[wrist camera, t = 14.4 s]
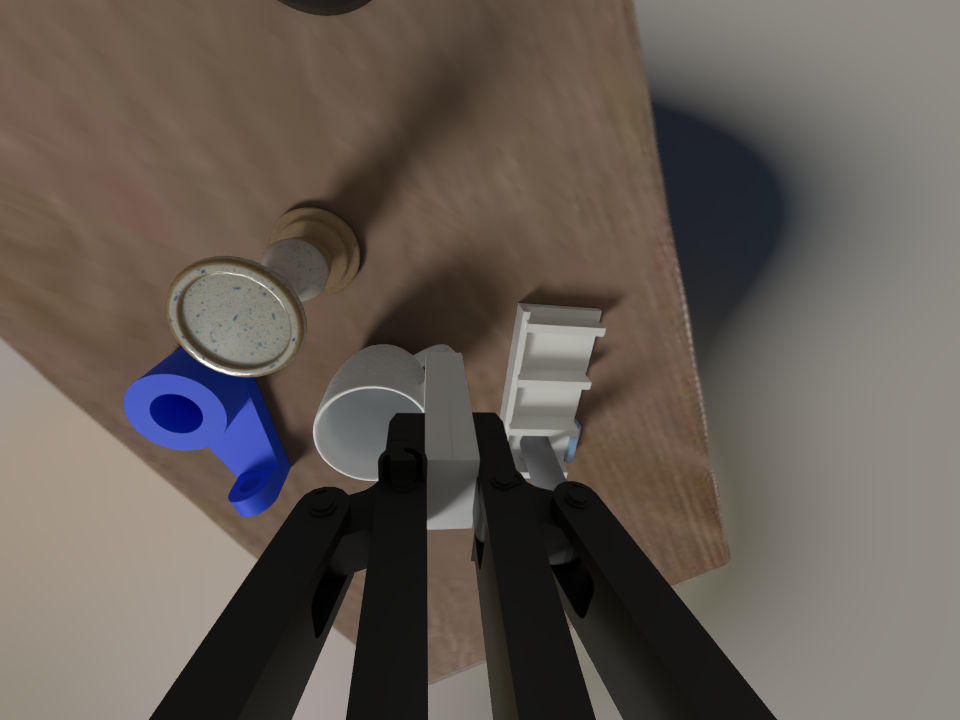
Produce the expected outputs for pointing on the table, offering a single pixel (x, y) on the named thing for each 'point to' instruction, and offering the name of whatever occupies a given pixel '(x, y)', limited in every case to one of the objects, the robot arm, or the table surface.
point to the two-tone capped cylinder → (541, 462)
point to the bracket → (212, 424)
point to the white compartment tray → (548, 376)
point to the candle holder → (262, 295)
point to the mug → (368, 406)
